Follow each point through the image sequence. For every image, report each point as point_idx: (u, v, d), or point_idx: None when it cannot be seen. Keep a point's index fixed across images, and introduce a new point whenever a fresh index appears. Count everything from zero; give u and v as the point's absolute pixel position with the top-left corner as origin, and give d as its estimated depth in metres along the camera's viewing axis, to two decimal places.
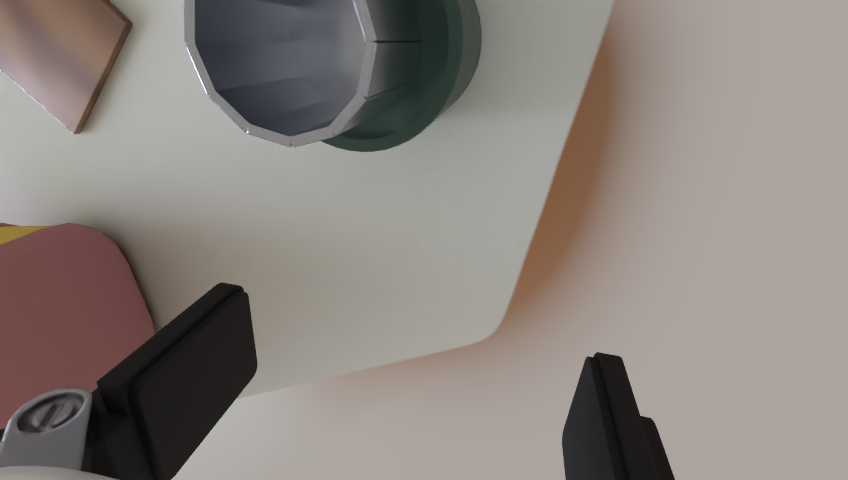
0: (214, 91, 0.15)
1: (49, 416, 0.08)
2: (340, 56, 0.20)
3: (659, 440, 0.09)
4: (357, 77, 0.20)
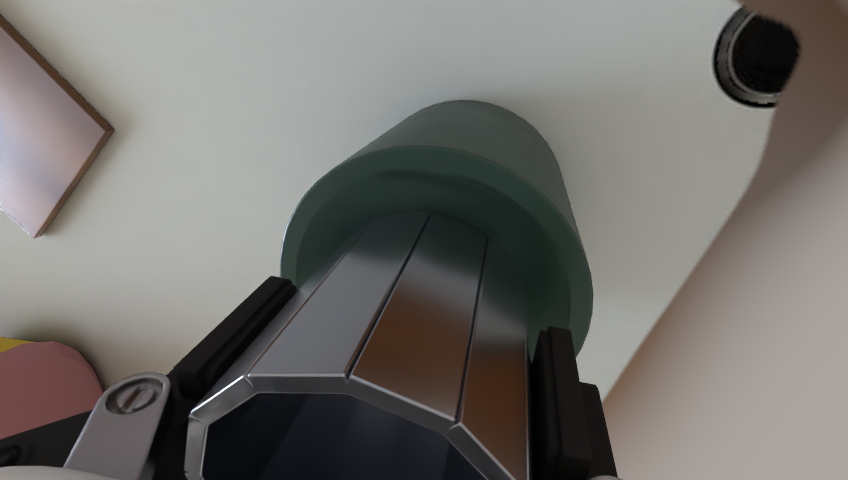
0: None
1: (133, 399, 0.08)
2: None
3: (599, 404, 0.10)
4: None
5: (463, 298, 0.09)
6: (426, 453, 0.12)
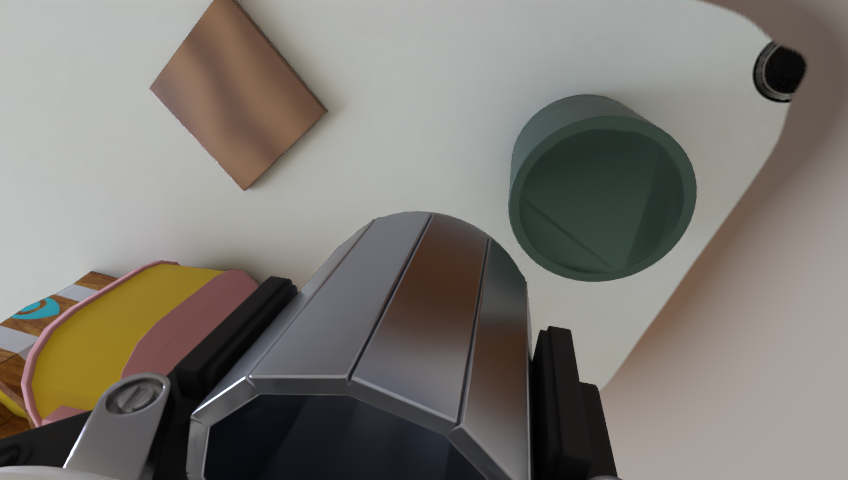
0: None
1: (133, 399, 0.08)
2: None
3: (600, 404, 0.10)
4: None
5: (465, 299, 0.09)
6: (427, 453, 0.12)
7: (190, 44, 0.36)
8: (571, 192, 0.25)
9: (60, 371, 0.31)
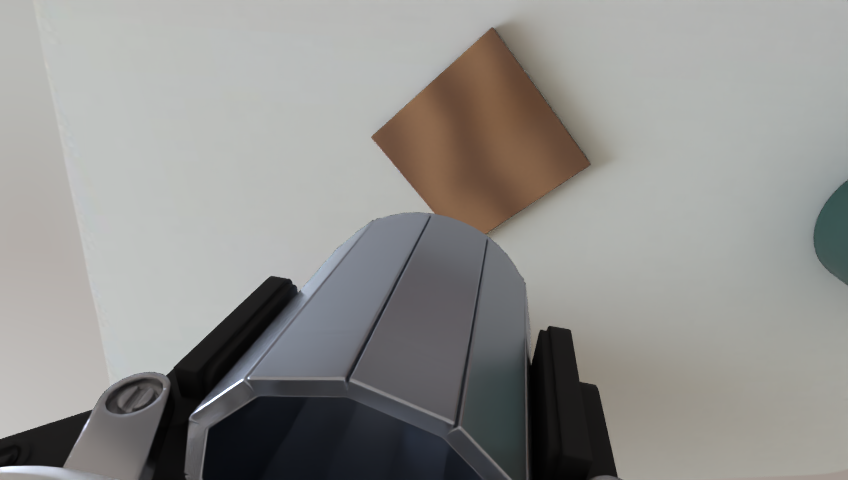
0: None
1: (133, 399, 0.08)
2: None
3: (600, 404, 0.10)
4: None
5: (463, 300, 0.09)
6: (426, 455, 0.12)
7: (435, 89, 0.31)
8: None
9: None
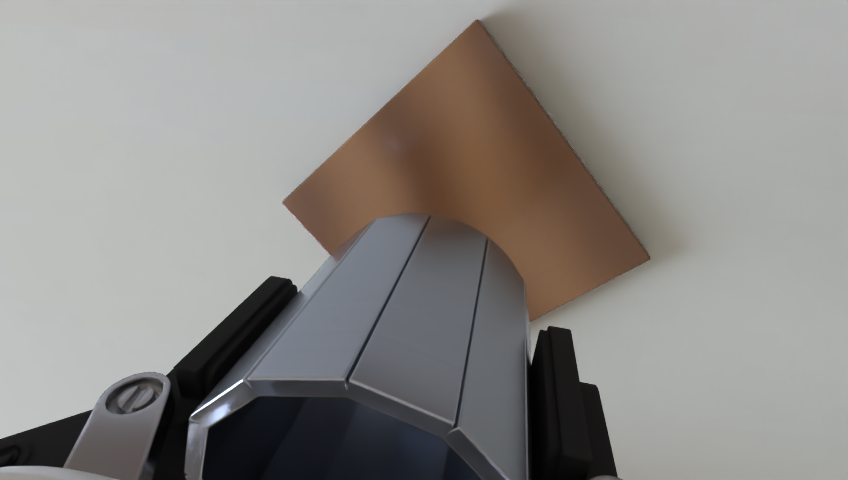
0: None
1: (133, 399, 0.08)
2: None
3: (600, 404, 0.10)
4: None
5: (463, 300, 0.09)
6: (426, 454, 0.12)
7: (380, 128, 0.18)
8: None
9: None
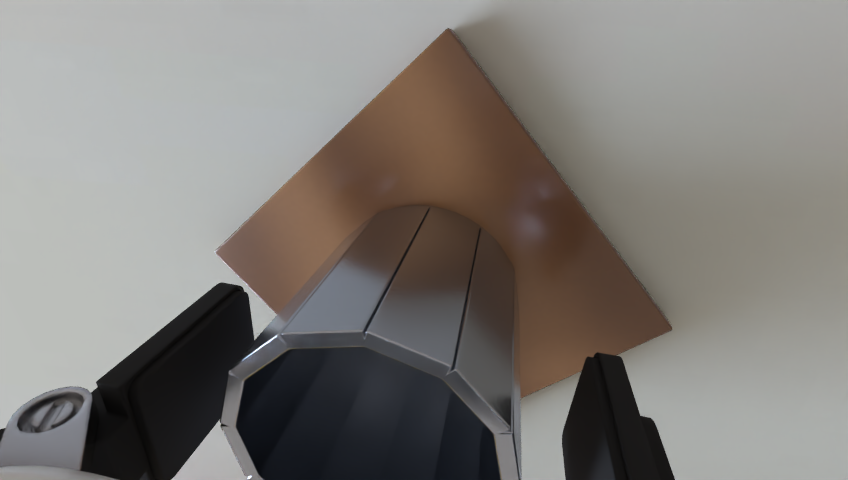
0: (256, 475, 0.10)
1: (49, 416, 0.08)
2: None
3: (659, 441, 0.09)
4: None
5: (459, 276, 0.10)
6: (426, 421, 0.13)
7: (330, 165, 0.14)
8: None
9: None
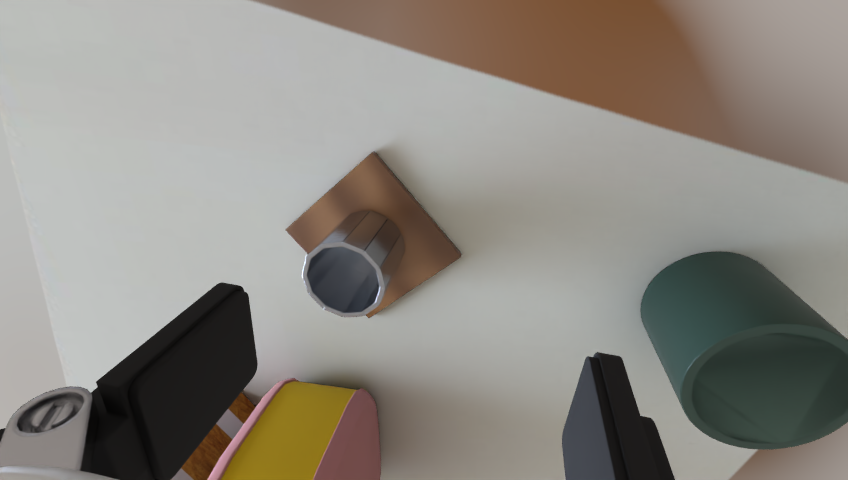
0: (311, 292, 0.34)
1: (49, 416, 0.08)
2: None
3: (658, 441, 0.09)
4: None
5: (372, 232, 0.34)
6: (368, 289, 0.37)
7: (333, 195, 0.38)
8: (746, 379, 0.27)
9: None
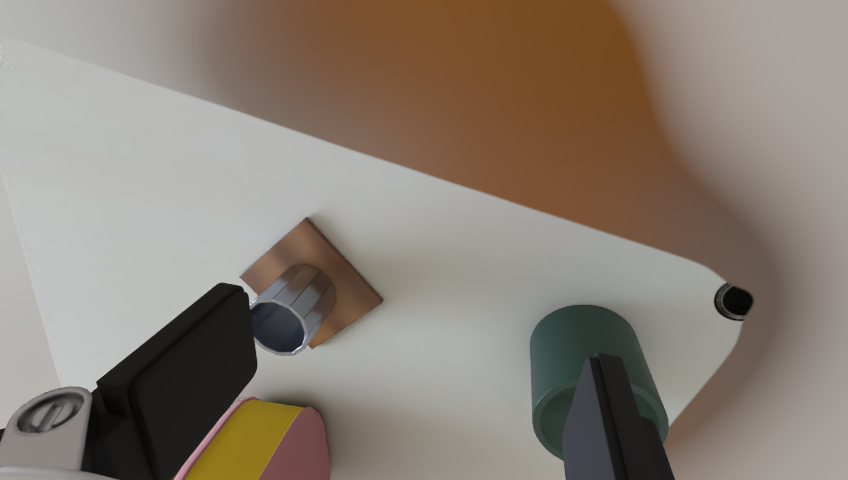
0: None
1: (49, 416, 0.08)
2: None
3: (659, 440, 0.09)
4: None
5: (302, 287, 0.42)
6: (303, 329, 0.45)
7: (275, 251, 0.45)
8: None
9: None
